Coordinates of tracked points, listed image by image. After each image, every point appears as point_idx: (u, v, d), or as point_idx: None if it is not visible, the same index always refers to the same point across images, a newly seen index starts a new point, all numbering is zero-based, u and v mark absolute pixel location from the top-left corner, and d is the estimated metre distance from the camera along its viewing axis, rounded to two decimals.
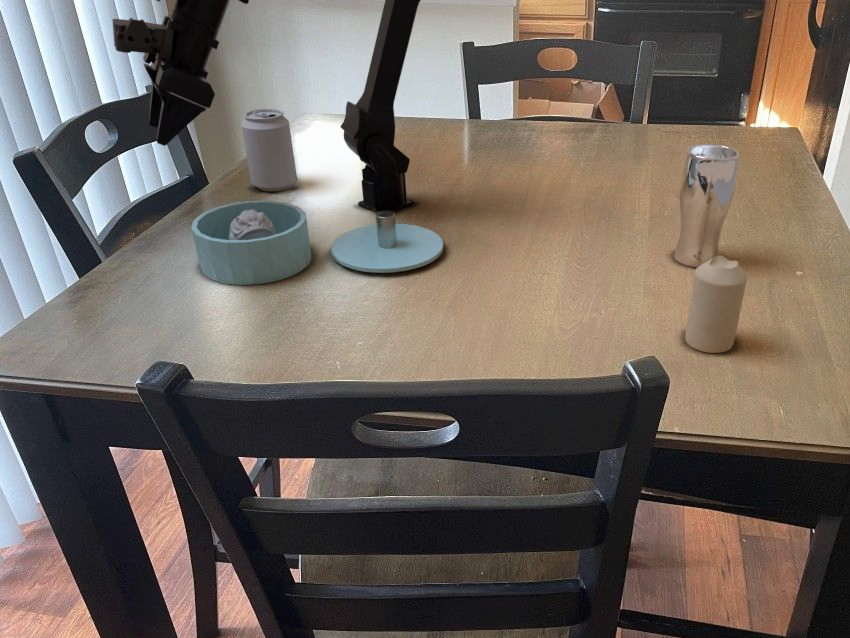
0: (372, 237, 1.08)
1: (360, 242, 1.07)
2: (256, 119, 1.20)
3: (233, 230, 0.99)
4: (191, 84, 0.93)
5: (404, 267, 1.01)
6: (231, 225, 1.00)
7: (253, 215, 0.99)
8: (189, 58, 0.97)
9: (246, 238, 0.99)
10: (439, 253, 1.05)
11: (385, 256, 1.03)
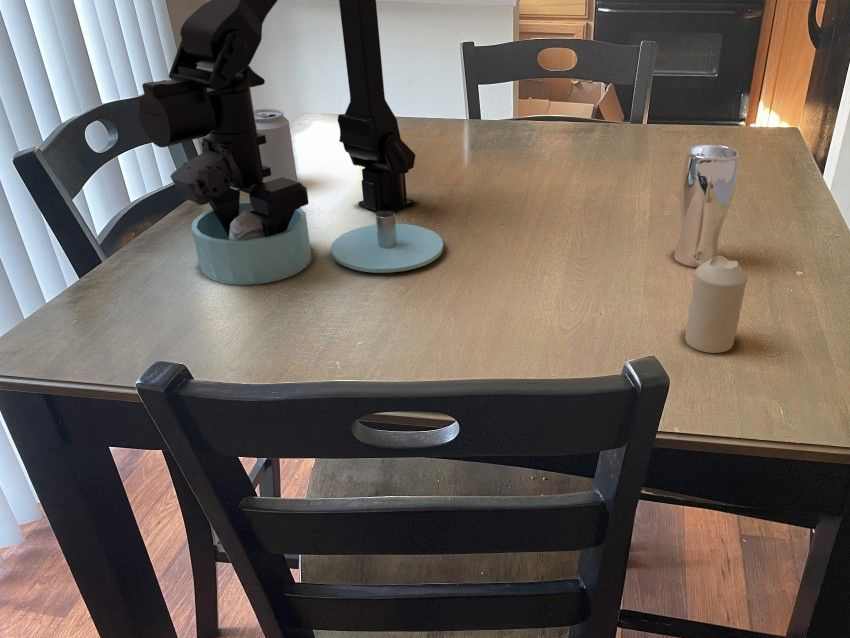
0: (372, 237, 1.08)
1: (360, 242, 1.07)
2: (256, 119, 1.20)
3: (233, 230, 0.99)
4: (291, 195, 0.93)
5: (404, 267, 1.01)
6: (231, 225, 1.00)
7: (253, 215, 0.99)
8: (254, 167, 0.95)
9: (246, 238, 0.99)
10: (439, 253, 1.05)
11: (385, 256, 1.03)
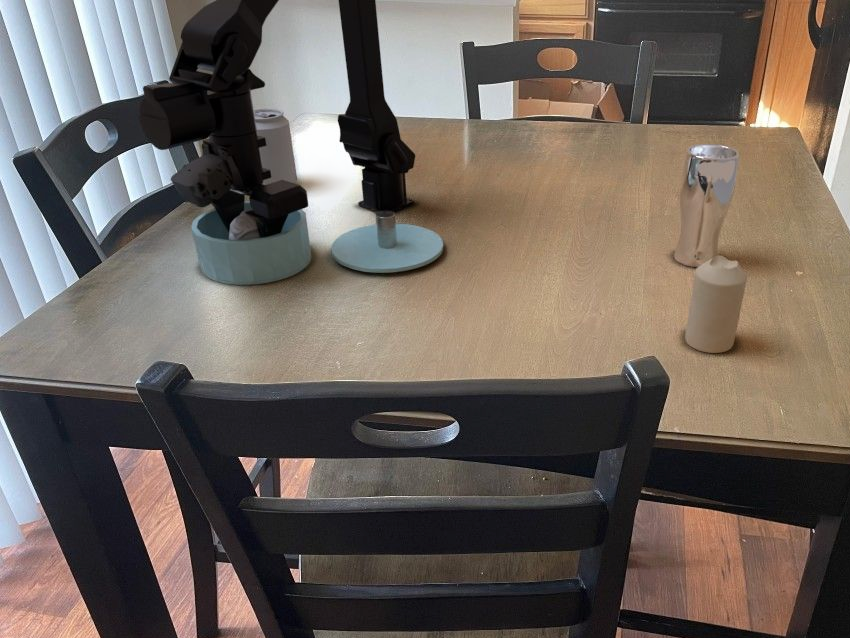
0: (372, 237, 1.08)
1: (360, 242, 1.07)
2: (256, 119, 1.20)
3: (233, 230, 0.99)
4: (291, 197, 0.94)
5: (404, 267, 1.01)
6: (231, 225, 1.00)
7: None
8: (254, 170, 0.96)
9: (246, 238, 0.99)
10: (439, 253, 1.05)
11: (385, 256, 1.03)
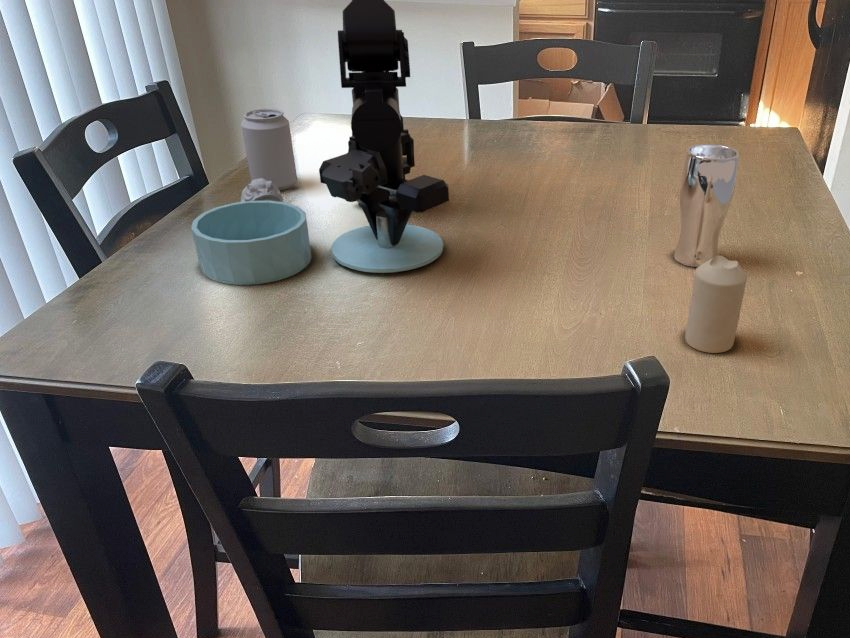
0: (372, 237, 1.08)
1: (360, 242, 1.07)
2: (256, 119, 1.20)
3: (244, 196, 1.11)
4: (436, 192, 0.97)
5: (404, 267, 1.01)
6: (242, 192, 1.11)
7: (262, 183, 1.10)
8: (397, 165, 0.99)
9: None
10: (439, 253, 1.05)
11: (385, 256, 1.03)
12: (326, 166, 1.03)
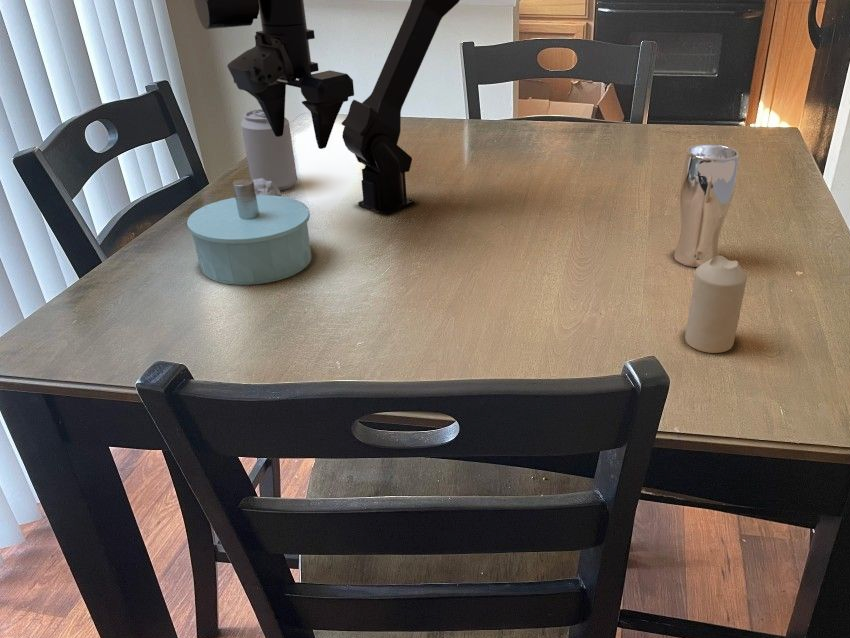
0: (236, 208, 1.03)
1: (221, 213, 1.01)
2: (256, 119, 1.20)
3: None
4: (339, 84, 1.00)
5: (258, 238, 0.95)
6: None
7: (262, 183, 1.10)
8: (304, 61, 1.02)
9: None
10: (301, 224, 0.99)
11: (241, 227, 0.97)
12: None
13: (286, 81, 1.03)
